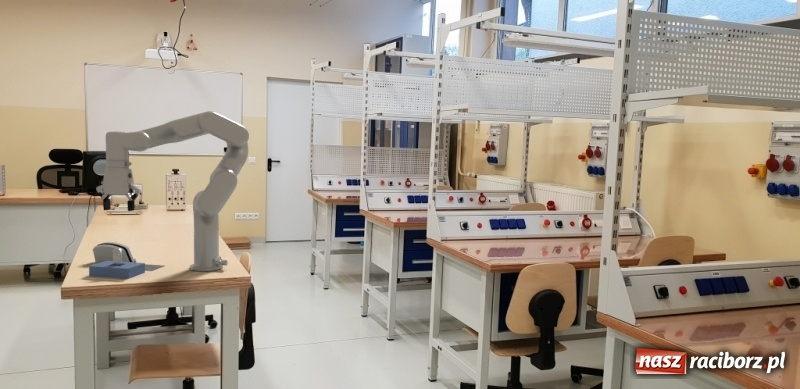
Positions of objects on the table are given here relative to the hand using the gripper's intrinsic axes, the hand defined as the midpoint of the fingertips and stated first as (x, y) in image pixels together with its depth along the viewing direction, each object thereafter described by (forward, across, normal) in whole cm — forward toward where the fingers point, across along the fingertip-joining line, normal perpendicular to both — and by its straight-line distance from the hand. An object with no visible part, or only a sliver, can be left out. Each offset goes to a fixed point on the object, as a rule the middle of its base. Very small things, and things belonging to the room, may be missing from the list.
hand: (119, 210), depth 214 cm
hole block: (+24, 0, +1) cm, 24 cm away
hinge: (+25, +14, -17) cm, 33 cm away
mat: (+24, -2, -12) cm, 27 cm away
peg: (+24, 0, +1) cm, 25 cm away
